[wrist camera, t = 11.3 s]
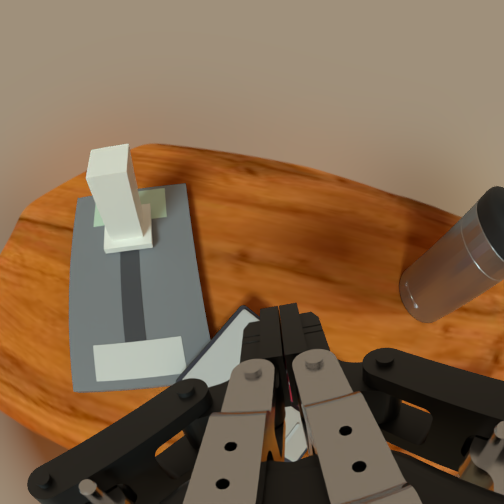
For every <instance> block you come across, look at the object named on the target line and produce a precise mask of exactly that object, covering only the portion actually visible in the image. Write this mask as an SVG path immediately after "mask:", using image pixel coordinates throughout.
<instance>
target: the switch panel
mask: <svg viewBox="0 0 504 504" xmlns="http://www.w3.org/2000/svg"><path fill="white" fill-rule="evenodd" d="M138 193H139V197H140V202H141V204H149V203H150V206H151V221H152V240H153V248H146V249H138V250H130V251H123V252H115V253H108V254H106V253H105V251H104V231H105V225H104V223H103V220H102V218H101V216H100V213H99V211H98V208H97V206H96V203H95V201H94V198H93V196H88V197H83V198H78V201H77V208H76V215H75V222H74V231H73V240H72V251H71V265H70V284H69V338H70V357H71V370H72V381H73V390H74V392H79V393H81V392H106V391H122V390H135V389H146V388H155V387H164V386H171V385H173V384H175V383H176V379H177V378H178V377H179V376H180V375H181V373H182V372H183V371H184V370H185V369H186V368H187V367H188V366H189V364H190V363H191V362H192V361H193V360H194V359H195V358H196V357H197V355H198V354H199V353H200V352H201V351H202V350H203V349H204V347H205V346H206V345H207V344H208V343H209V342H210V341H211V340H210V335H209V330H208V325H207V319H206V314H205V308H204V303H203V297H202V291H201V285H200V279H199V273H198V267H197V261H196V254H195V248H194V241H193V234H192V227H191V220H190V213H189V205H188V197H187V189H186V183H184V184H174V185H166V186H157V187H149V188H142V189H138Z"/></svg>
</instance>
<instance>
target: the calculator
mask: <svg viewBox="0 0 504 504" xmlns="http://www.w3.org/2000/svg"><path fill="white" fill-rule="evenodd" d="M255 321H260V317H259V316H258V315H257V314H255V313H254V312H253V311H252V310H250V309H249V308H248V307H246V306H245V305H242V306H240V307H239V308H238V309H237V311H236V312H235V313H234V314H233V315H232V316H231V318H230V319H229V320H228V321H227V322H226V323H225V325H224V326H223V327H222V328H221V329H220V330H219V331H218V333H217V334H216V335H215V336H214V337H213V338H212V339H211V341H210V342H209V343H208V344H207V345H206V346H205V347H204V349H203V350H202V351H201V352H200V353H199V354H198V355H197V357H196V358H195V359H194V360H193V361H192V362H191V363H190V364H189V366H188V367H187V368H186V369H185V370H184V371H183V372H182V373H181V375H180V376H179V377H178V378H177V379H176V382H178V381H181V380H184V379H189V378H197V379H201V380H203V381H204V382H205V383H206V384H207V386H208V387H211V386H215V385H218V384H221V383H224V382H226V381H228V380H229V379H230V376H231V372H232V370H233V369H234V368H235V367H236V366H237V365H238V364H240V356H241V347H242V338H243V330H244V328H245V327H246V326H247V325H248V323H249V322H255ZM288 378H289V377H288ZM289 387H290V383H289ZM290 397H291V406H290V407H285V411H286V417H285V422H286V434H285V458H284V462H294V461H297V460H300V459H301V458H302V457H303V455H304V454H305V453H306V451H307V450H308V449H307V445H306V441H305V436H304V432H303V428H302V424H301V418H300V412H299V405H296V406H293V401H292V395H291V389H290Z"/></svg>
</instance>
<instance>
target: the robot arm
mask: <svg viewBox="0 0 504 504" xmlns="http://www.w3.org/2000/svg"><path fill="white" fill-rule="evenodd" d="M503 279H504V188H503V187H499V186H496V187H492V188H491V189H489V190H488V191H487V192H486V193H485V194H484V195H483V196H482V197H481V198H480V199H479V201H477V203H476V204H475V205H474V206H473V207H472V208H471V209H470V210H469V211H468V212H467V213H466V214H465V215H464V216H463V217H462V218H461V219H460V220H459V221H458V222H457V223H456V224H455V225H454V226H453V227H452V228H451V229H450V230H449V231H448V232H447V233H446V234H445V235H444V236H443V237H442V238H441V239H440V240H438V241H437V242H436V243H435V244H434V245H433V246H432V247H431V248H430V249H429V250H428V251H427V252H425V253H424V254H423V255H422V256H421V257H420V258H419V259H418V260H416V261H415V262H414V263H413V264H412V265H411V266H410V267H408V268H407V269H406V270H405V271H404V272H403V274H402V276H401V279H400V286H399V289H400V295H401V299H402V301H403V304H404V306H405V307H406V309H407V310H408V312H409V313H410V314H411V315H412V316H413V317H414V318H416V319H417V320H419V321H421V322H424V323H432V322H434V321H437V320H438V319H440V318H442V317H444V316H445V315H447V314H449V313H451V312H453V311H454V310H456V309H458V308H460V307H461V306H463V305H465V304H466V303H468V302H469V301H471V300H473V299H474V298H476V297H477V296H479V295H481V294H482V293H484V292H485V291H487V290H488V289H490V288H491V287H493V286H494V285H496V284H497V283H499V282H500V281H502V280H503ZM279 309H280V316H279V310H278V306H275V307H269V308H263V309H260V321H255V322H249V323H248V325H247V326H246V327H245V328H244V330H243V338H242V347H241V356H240V364H238V365H237V366H236V367H235V368H234V369H233V370H232V372H231V376H230V379H229V380H228V381H226V382H224V383H221V384H218V385H215V386H211V387H208V386H207V384H206V383H205V382H204V381H203V380H201V379H197V378H189V379H184V380H181V381H178V382H176V383H175V384H173V385H171V386H170V387H169V388H167V389H166V390H164V391H163V392H161V393H160V394H158V395H157V396H155V397H154V398H152V399H151V400H149V401H148V402H146V403H145V404H143V405H142V406H140V407H139V408H137V409H135V410H134V411H132V412H131V413H129V414H128V415H126V416H125V417H123V418H121V419H120V420H118V421H117V422H115V423H113V424H112V425H110V426H109V427H107V428H105V429H104V430H102V431H101V432H99V433H97V434H96V435H94V436H92V437H91V438H89V439H87V440H86V441H84V442H82V443H81V444H79V445H77V446H75V447H74V448H72V449H70V450H68V451H67V452H65V453H63V454H62V455H60V456H58V457H56V458H54V459H53V460H51V461H49V462H47V463H45V464H43V465H42V466H40V467H38V468H36V469H35V470H34V471H33V472H32V473H31V475H30V476H29V479H28V483H27V486H28V490H29V492H30V494H31V495H32V496H33V497H34V498H35V499H37V500H38V501H39V502H40V503H41V504H504V381H502V380H498V379H494V378H490V377H487V376H483V375H479V374H476V373H472V372H469V371H465V370H462V369H458V368H455V367H452V366H448V365H445V364H442V363H438V362H435V361H432V360H428V359H425V358H422V357H419V356H416V355H412V354H409V353H406V352H403V351H400V350H397V349H393V348H380V349H376V350H373V351H371V352H370V353H368V354H367V355H366V356H365V357H364V359H363V362H360V363H351V362H344V361H340V360H338V359H337V358H336V356H335V355H334V354H333V353H332V352H330V349H329V346H328V343H327V341H326V338H325V335H324V332H323V329H322V326H321V323H320V320H319V318H318V316H316V315H315V314H313V313H312V312H308V313H302V314H299V311H298V307H297V303H292V304H286V305H280V306H279ZM280 318H281V321H280ZM288 377H289V378H288ZM289 383H290V387H289ZM290 389H291V395H292V401H293V406H296V405H299V412H300V418H301V424H302V428H303V432H304V436H305V441H306V445H307V449H308V453H309V456H308V457H306V458H303V459H300V460H297V461H294V462H284V458H285V434H286V422H285V417H286V411H285V407H290V406H291V397H290ZM402 400H404V401H406V402H409V403H411V404H414V405H416V406H419V407H422V408H424V409H426V410H428V411H429V412H430V413H431V414H430V413H427V412H424V411H422V410H419V409H417V408H414V407H411V406H409V405H406V404H404V403H401V402H402ZM182 430H183V432H184V434H185V435H184V436H183V437H182V438H181V439H179V440H178V441H177V442H175V443H174V444H173V445H171V446H170V447H168V448H167V449H166V450H164V451H163V452H162V453H160V454H159V455H157V456H156V457H155V452H156V450H157V449H158V448H159V447H160V446H161V445H163V444H164V443H165V442H167V441H168V440H169V439H171V438H172V437H174V436H175V435H176V434H178V433H179V432H180V431H182ZM386 441H387V442H389V443H391V444H394V445H396V446H398V447H400V448H402V449H404V450H407V451H409V452H411V453H413V454H416V455H418V456H420V457H423V458H425V459H427V460H430V461H432V462H434V463H437V464H439V465H442V466H444V467H447V468H450V469H452V470H455V471H457V472H458V473H459V478H458V477H455V476H453V475H451V474H448V473H446V472H444V471H442V470H439V469H437V468H435V467H433V466H431V465H429V464H426V463H424V462H422V461H420V460H418V459H416V458H414V457H412V456H410V455H407V454H404V453H401V452H398V451H393V450H390V449H389V447H388V445H387V442H386Z"/></svg>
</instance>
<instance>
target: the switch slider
mask: <svg viewBox="0 0 504 504" xmlns="http://www.w3.org/2000/svg"><path fill="white" fill-rule="evenodd" d="M86 180H87V183H88V185H89V188H90V191H91V193H92V196H93V198H94V201H95V203H96V206H97V208H98V211H99V213H100V216H101V218H102V220H103V223H104V225H105V231H104V251H105V253H106V254H108V253H115V252H123V251H130V250H138V249H146V248H153V240H152V221H151V206H150V203H149V204H141V202H140V197H139V193H138V188H137V183H136V179H135V174H134V169H133V164H132V159H131V153H130V148H129V144H124V145H117V146H112V147H105V148H100V149H94V150H91V154H90V159H89V164H88V169H87V174H86Z"/></svg>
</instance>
